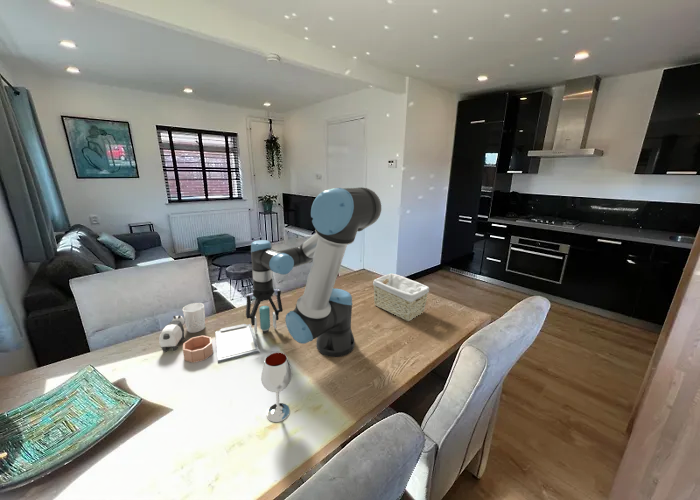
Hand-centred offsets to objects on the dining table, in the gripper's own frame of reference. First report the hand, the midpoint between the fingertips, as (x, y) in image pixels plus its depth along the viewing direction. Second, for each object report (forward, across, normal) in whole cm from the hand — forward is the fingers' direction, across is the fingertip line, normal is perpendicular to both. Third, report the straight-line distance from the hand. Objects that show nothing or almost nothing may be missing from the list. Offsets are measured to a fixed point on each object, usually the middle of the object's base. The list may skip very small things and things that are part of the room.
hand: (265, 328), depth 118 cm
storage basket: (+1, -65, +7) cm, 65 cm away
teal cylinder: (+1, 0, 0) cm, 1 cm away
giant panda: (+1, +33, -6) cm, 34 cm away
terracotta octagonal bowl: (+1, +25, +5) cm, 26 cm away
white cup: (+1, +26, -14) cm, 30 cm away
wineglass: (+1, +5, +43) cm, 43 cm away
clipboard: (+1, +12, +3) cm, 12 cm away
